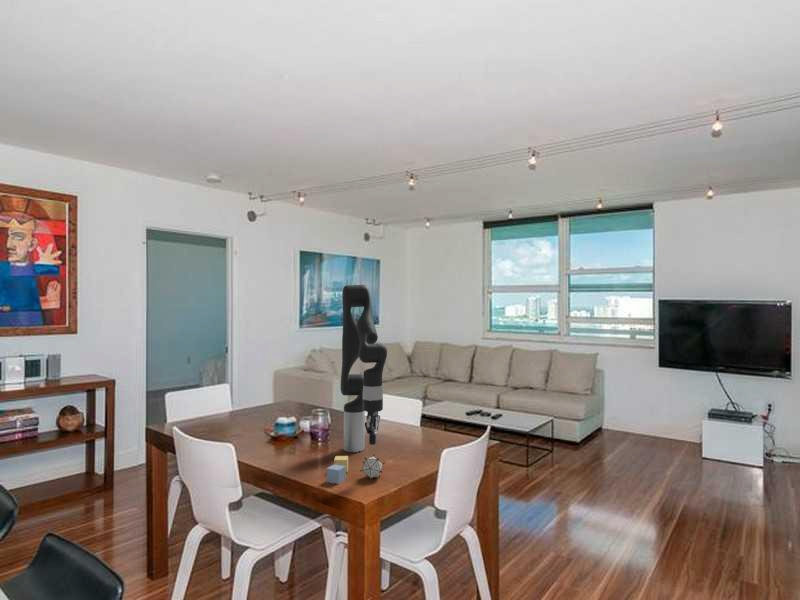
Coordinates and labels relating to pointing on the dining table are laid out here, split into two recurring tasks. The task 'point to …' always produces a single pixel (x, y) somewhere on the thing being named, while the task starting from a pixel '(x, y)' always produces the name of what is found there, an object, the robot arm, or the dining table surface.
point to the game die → (372, 467)
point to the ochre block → (341, 461)
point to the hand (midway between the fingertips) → (372, 444)
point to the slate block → (336, 474)
